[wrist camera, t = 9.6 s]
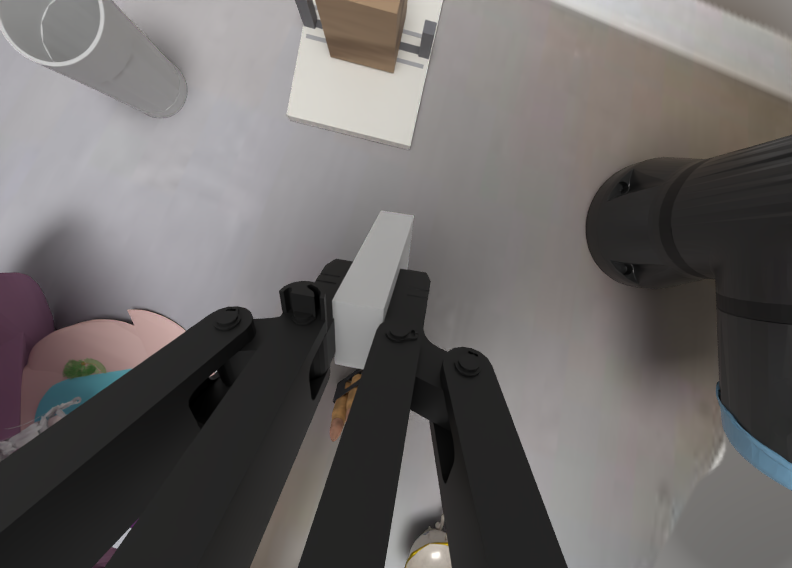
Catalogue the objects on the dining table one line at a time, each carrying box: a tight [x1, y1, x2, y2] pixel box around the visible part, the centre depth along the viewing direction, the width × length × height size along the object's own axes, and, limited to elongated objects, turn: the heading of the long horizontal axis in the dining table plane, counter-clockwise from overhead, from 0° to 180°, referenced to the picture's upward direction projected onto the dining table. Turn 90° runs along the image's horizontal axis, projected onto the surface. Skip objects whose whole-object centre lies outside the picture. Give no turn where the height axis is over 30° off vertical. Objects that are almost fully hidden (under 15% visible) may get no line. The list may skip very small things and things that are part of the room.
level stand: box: [287, 0, 443, 150], centre depth 34 cm, size 20×14×6 cm
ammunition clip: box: [330, 369, 363, 441], centre depth 35 cm, size 11×2×12 cm, turn 125°
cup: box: [0, 0, 187, 118], centre depth 31 cm, size 8×8×12 cm
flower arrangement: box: [0, 273, 215, 568], centre depth 27 cm, size 35×24×28 cm
